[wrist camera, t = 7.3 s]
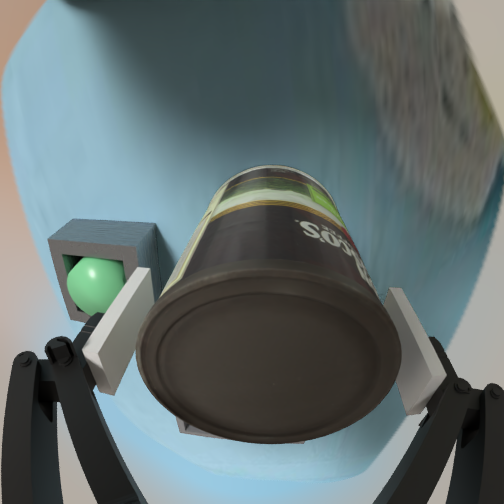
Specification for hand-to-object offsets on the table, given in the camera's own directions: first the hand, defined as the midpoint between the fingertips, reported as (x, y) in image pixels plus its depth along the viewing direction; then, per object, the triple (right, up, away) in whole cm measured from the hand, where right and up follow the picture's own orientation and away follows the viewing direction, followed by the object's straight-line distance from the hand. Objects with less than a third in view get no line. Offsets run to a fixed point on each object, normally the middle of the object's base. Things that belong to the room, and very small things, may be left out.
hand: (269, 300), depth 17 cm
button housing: (-13, +2, +9) cm, 16 cm away
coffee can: (0, +4, +7) cm, 8 cm away
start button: (-13, +1, +8) cm, 15 cm away
